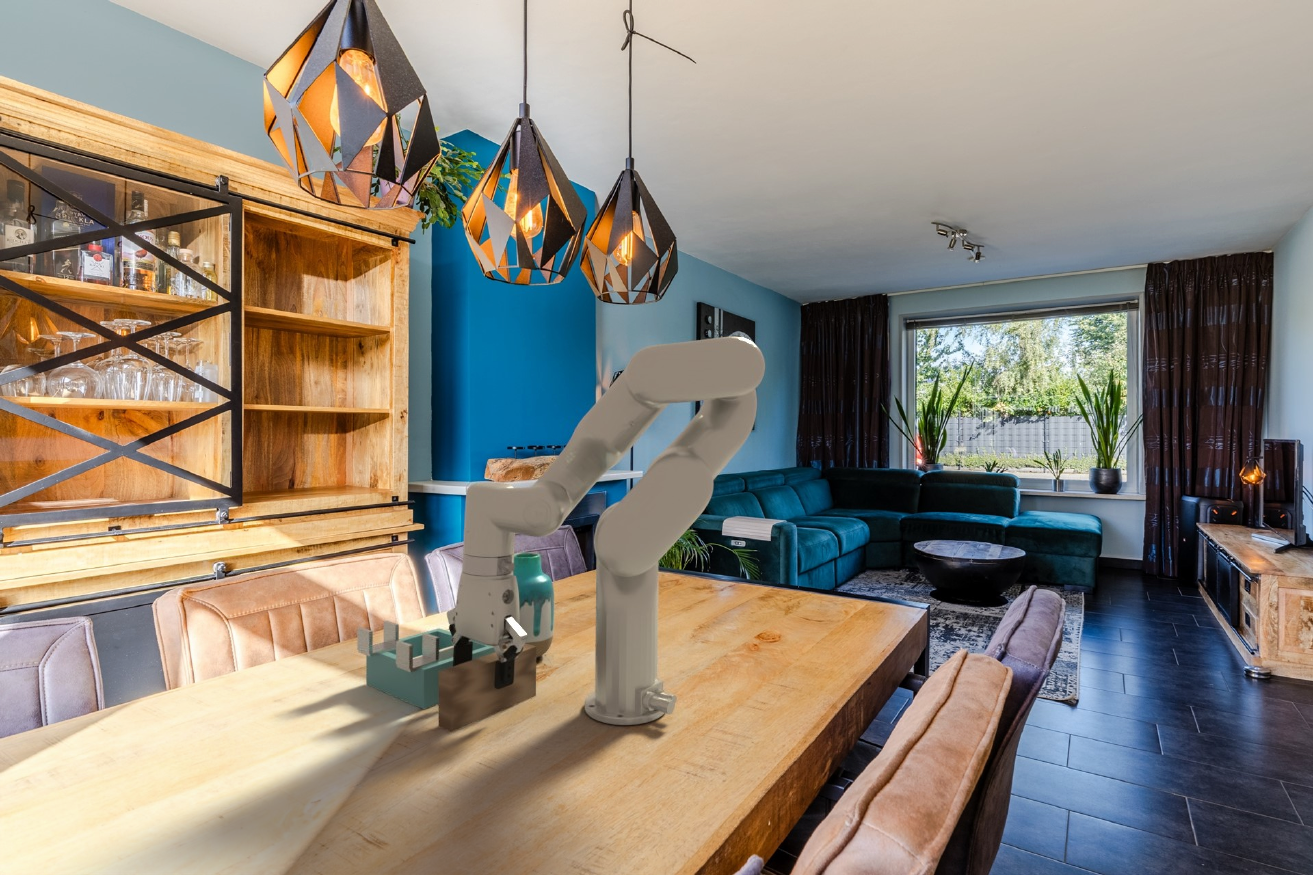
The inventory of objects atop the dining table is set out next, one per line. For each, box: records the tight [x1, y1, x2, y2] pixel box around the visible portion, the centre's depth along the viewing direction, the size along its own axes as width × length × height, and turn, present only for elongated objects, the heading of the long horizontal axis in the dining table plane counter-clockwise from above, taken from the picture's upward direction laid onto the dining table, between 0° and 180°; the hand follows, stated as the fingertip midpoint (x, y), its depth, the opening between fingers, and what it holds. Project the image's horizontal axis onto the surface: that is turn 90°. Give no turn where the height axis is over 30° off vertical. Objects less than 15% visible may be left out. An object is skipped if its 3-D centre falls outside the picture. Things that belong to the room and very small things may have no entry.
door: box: [438, 643, 537, 733], centre depth 100 cm, size 16×3×8 cm, turn 144°
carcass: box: [365, 627, 495, 710], centre depth 110 cm, size 16×14×6 cm
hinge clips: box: [356, 620, 439, 672], centre depth 105 cm, size 14×5×4 cm, turn 54°
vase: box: [499, 552, 556, 659], centre depth 123 cm, size 11×11×19 cm
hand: (482, 677), depth 100 cm, fingers open, 9 cm apart
